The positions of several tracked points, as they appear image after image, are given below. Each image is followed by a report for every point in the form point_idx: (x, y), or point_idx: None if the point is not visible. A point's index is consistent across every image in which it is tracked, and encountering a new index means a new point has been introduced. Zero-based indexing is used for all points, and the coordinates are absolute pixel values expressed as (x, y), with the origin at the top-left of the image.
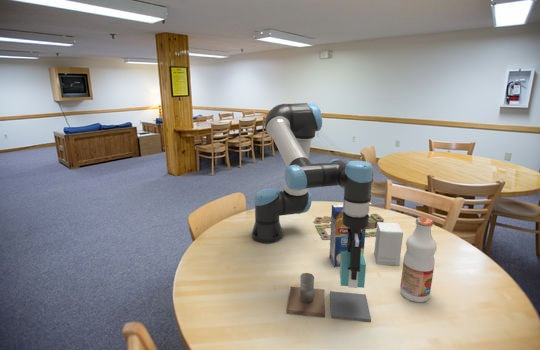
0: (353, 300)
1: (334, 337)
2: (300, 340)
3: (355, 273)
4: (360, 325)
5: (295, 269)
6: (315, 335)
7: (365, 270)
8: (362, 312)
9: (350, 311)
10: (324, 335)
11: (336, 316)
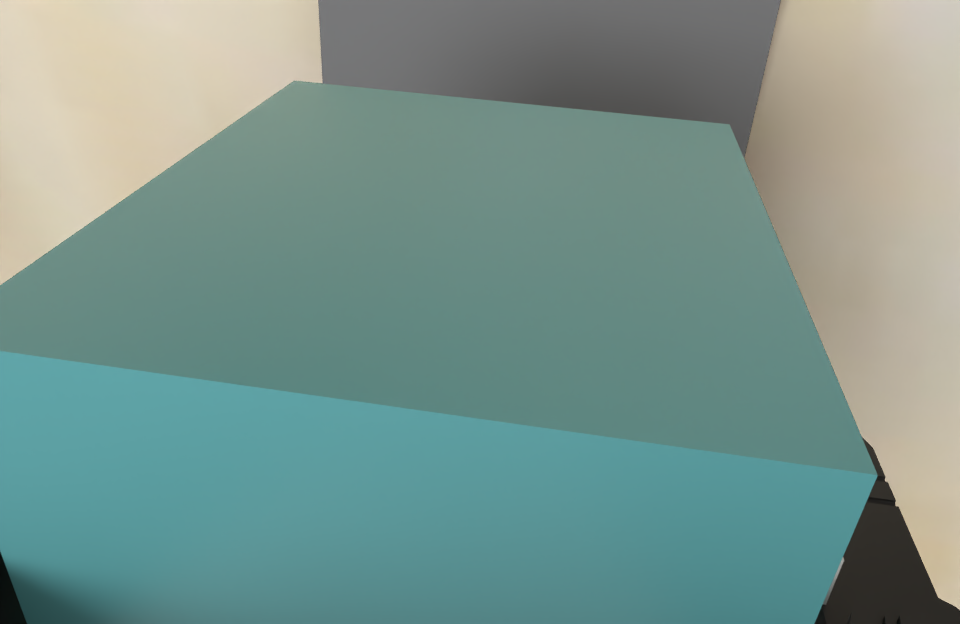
0: (456, 79)
1: (953, 335)
2: (932, 562)
3: (911, 587)
4: (830, 59)
5: None
6: (899, 467)
7: (808, 323)
8: (667, 9)
9: None
10: (912, 407)
11: None
